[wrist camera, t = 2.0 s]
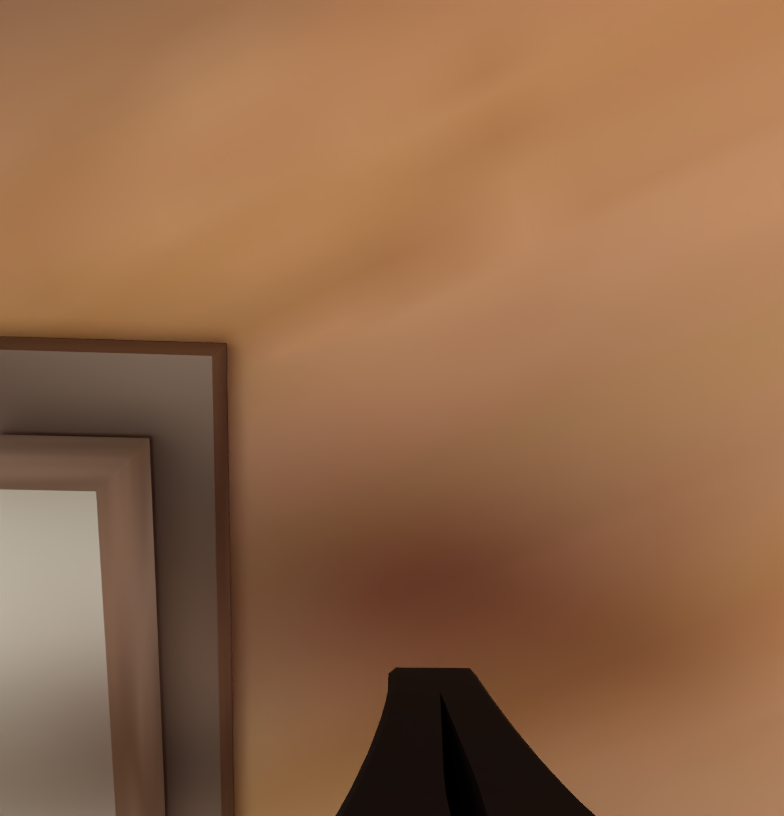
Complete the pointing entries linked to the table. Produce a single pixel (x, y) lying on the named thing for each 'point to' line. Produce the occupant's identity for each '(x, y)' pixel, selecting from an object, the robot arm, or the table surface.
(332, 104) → the table surface
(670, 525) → the table surface
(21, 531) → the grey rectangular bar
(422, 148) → the table surface
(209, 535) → the stool seat panel
